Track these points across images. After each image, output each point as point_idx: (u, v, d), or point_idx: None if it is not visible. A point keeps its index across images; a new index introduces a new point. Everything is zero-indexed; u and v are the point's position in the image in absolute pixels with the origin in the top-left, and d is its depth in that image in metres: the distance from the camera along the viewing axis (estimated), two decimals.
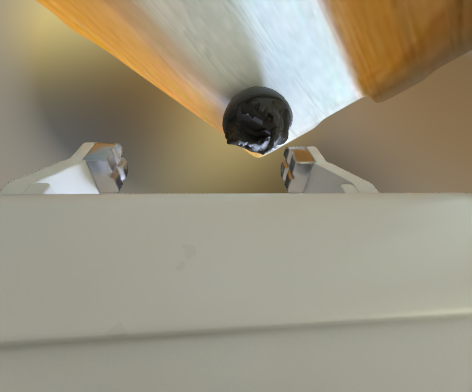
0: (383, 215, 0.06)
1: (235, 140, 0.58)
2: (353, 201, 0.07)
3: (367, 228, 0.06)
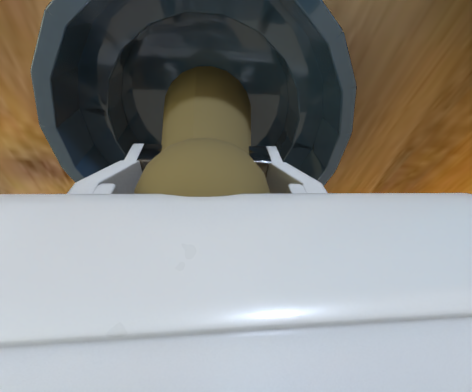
0: (383, 215, 0.06)
1: None
2: (353, 201, 0.07)
3: (367, 228, 0.06)
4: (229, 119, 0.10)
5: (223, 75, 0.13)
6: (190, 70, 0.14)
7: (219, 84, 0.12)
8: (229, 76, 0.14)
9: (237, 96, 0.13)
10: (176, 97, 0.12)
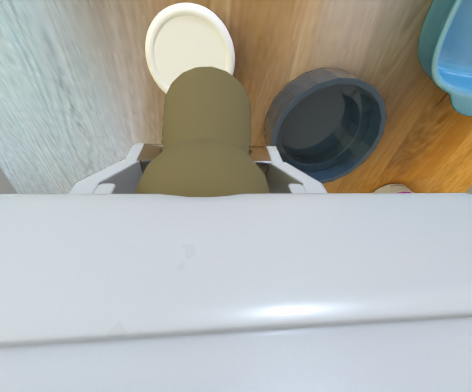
0: (383, 215, 0.06)
1: None
2: (353, 201, 0.07)
3: (367, 228, 0.06)
4: (229, 120, 0.10)
5: (223, 75, 0.13)
6: (190, 70, 0.14)
7: (220, 84, 0.12)
8: (229, 76, 0.14)
9: (237, 96, 0.13)
10: (176, 98, 0.12)
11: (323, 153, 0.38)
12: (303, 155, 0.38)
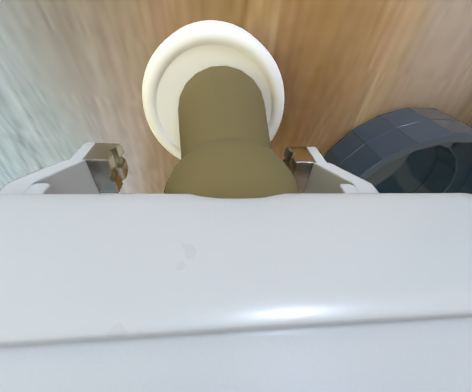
0: (383, 215, 0.06)
1: None
2: (353, 201, 0.07)
3: (367, 228, 0.06)
4: (250, 118, 0.10)
5: (238, 74, 0.13)
6: (205, 70, 0.14)
7: (236, 83, 0.12)
8: (244, 75, 0.14)
9: (254, 95, 0.13)
10: (194, 98, 0.12)
11: None
12: None
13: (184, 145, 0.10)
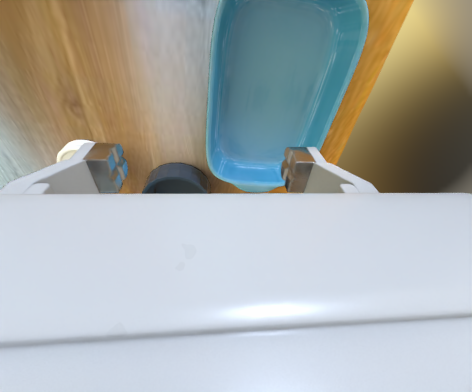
0: (383, 215, 0.06)
1: None
2: (353, 201, 0.07)
3: (367, 228, 0.06)
4: None
5: None
6: None
7: None
8: None
9: None
10: None
11: None
12: None
13: None
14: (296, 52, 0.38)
